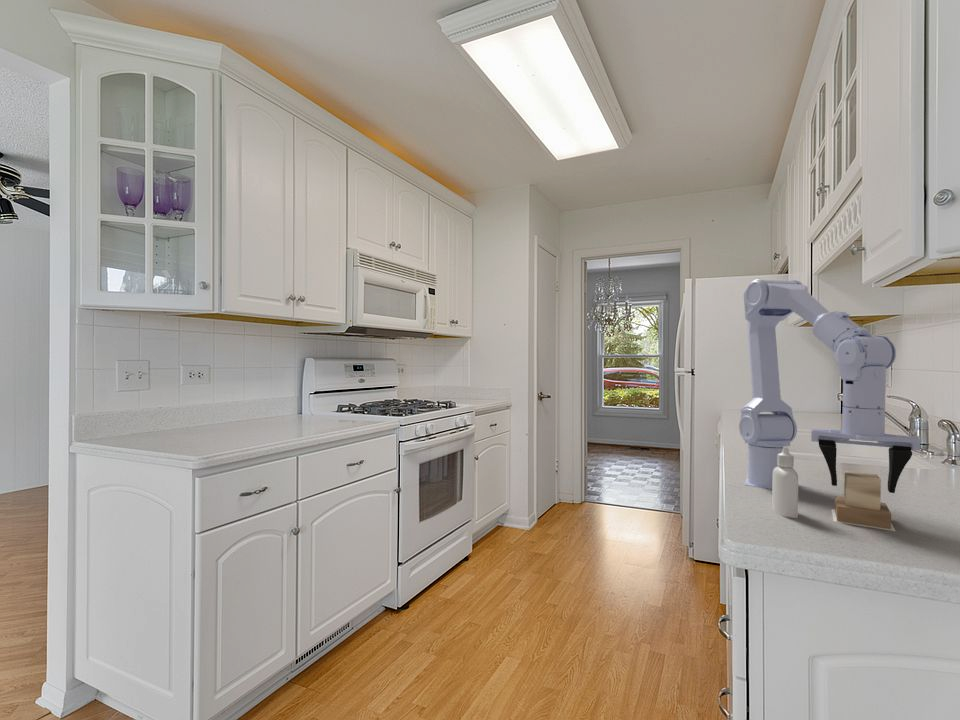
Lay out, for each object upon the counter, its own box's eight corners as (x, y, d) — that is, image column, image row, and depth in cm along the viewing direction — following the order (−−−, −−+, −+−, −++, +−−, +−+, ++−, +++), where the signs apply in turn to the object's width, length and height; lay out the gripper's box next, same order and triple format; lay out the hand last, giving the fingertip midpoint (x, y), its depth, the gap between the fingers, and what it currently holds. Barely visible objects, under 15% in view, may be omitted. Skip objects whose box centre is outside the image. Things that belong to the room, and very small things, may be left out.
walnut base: (835, 510, 90) (835, 496, 90) (885, 517, 86) (885, 503, 86) (837, 521, 84) (837, 506, 84) (890, 529, 80) (891, 513, 80)
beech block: (843, 499, 88) (844, 470, 88) (876, 503, 86) (876, 474, 86) (846, 505, 84) (846, 475, 84) (880, 510, 82) (880, 479, 82)
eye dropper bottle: (801, 514, 89) (803, 446, 89) (796, 521, 85) (797, 450, 85) (773, 509, 92) (774, 443, 92) (766, 516, 88) (768, 447, 88)
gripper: (812, 406, 85) (810, 486, 85) (924, 412, 77) (923, 500, 78) (811, 403, 91) (810, 478, 91) (916, 408, 83) (915, 490, 83)
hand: (861, 488), depth 85 cm, fingers open, 7 cm apart
